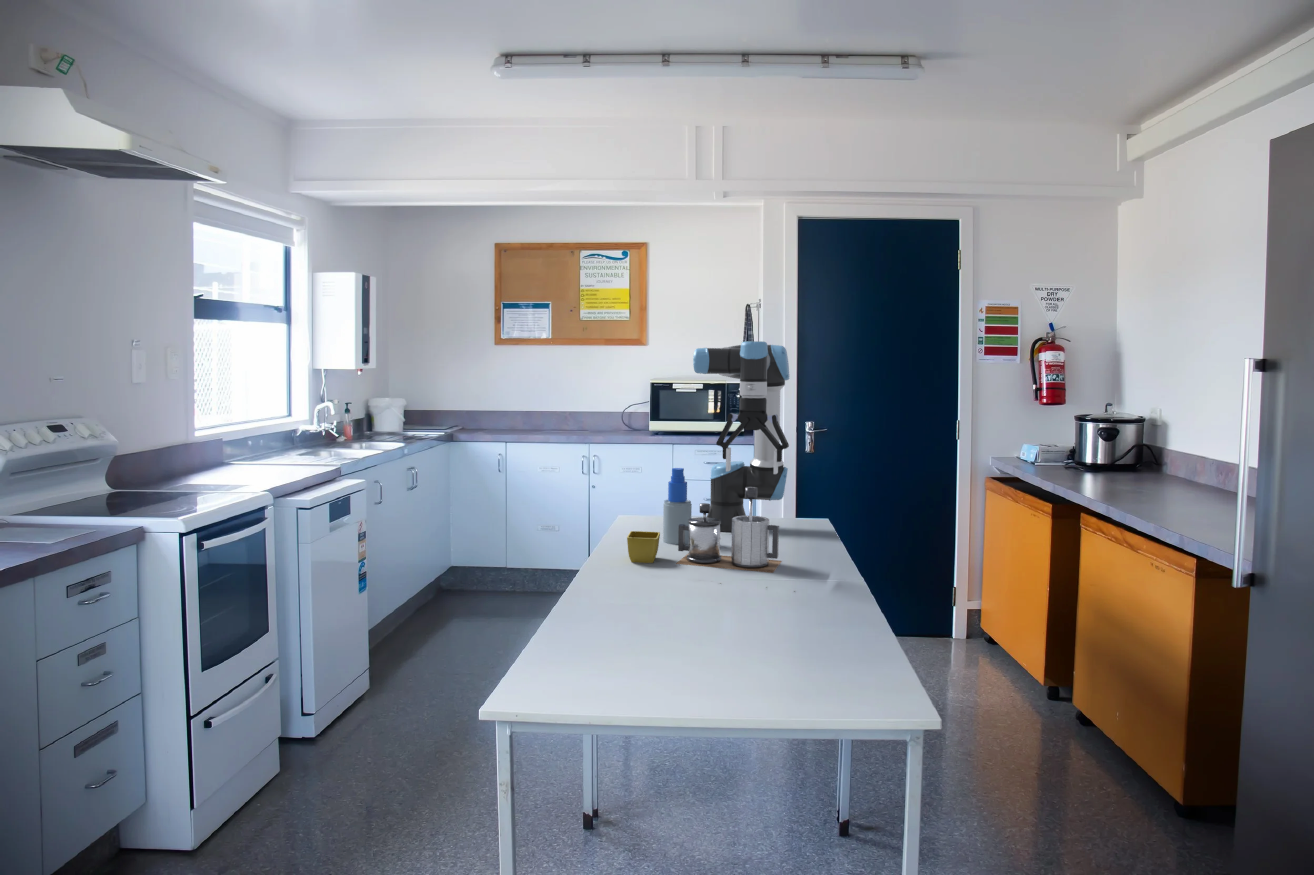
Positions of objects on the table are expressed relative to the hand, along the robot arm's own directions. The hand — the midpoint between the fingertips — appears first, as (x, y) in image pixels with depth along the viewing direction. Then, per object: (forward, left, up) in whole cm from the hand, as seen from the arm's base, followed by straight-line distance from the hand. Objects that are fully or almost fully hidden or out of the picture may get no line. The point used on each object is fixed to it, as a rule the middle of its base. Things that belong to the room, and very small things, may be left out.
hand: (751, 472), depth 228 cm
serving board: (0, -6, -28) cm, 29 cm away
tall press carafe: (0, +1, -26) cm, 26 cm away
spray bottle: (-20, -28, -28) cm, 44 cm away
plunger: (0, 0, -23) cm, 23 cm away
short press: (0, -15, -26) cm, 30 cm away
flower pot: (+6, -30, -28) cm, 42 cm away
